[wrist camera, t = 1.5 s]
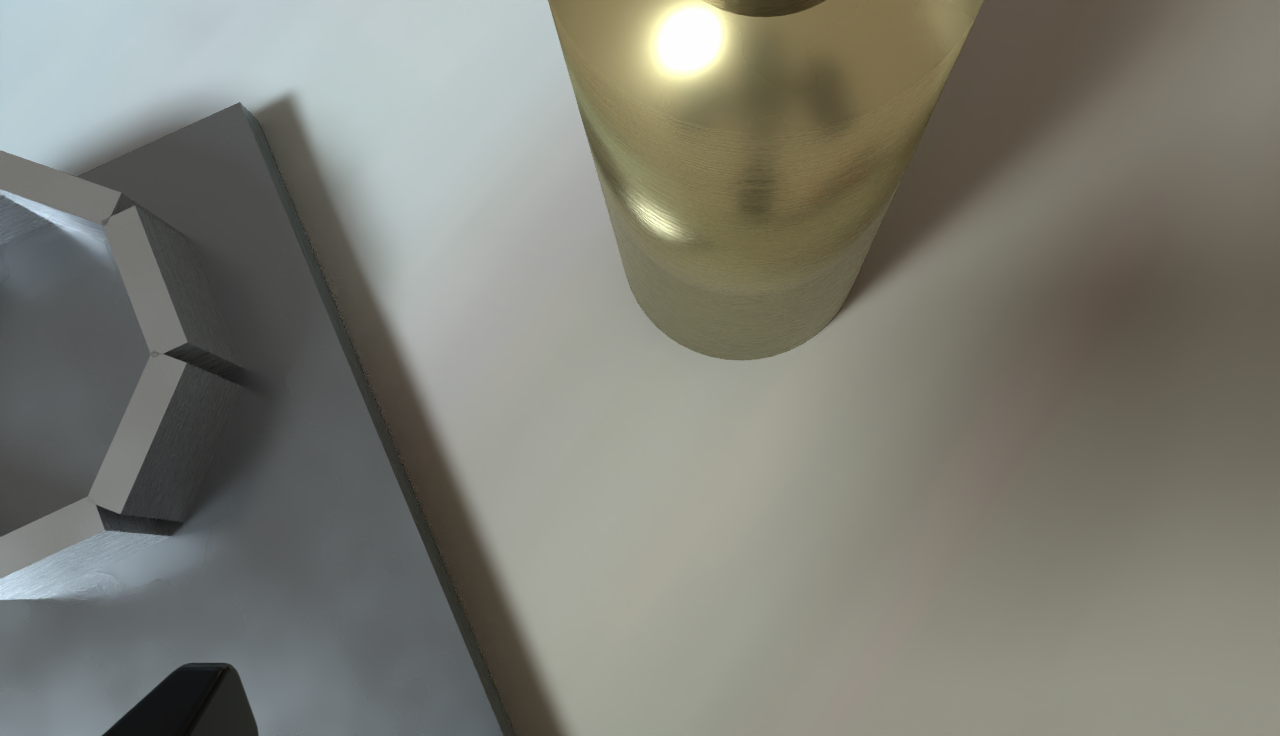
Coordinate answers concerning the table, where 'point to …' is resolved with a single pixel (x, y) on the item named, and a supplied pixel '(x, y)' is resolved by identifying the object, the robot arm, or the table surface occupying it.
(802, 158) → the gold capped bottle
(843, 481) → the table surface
